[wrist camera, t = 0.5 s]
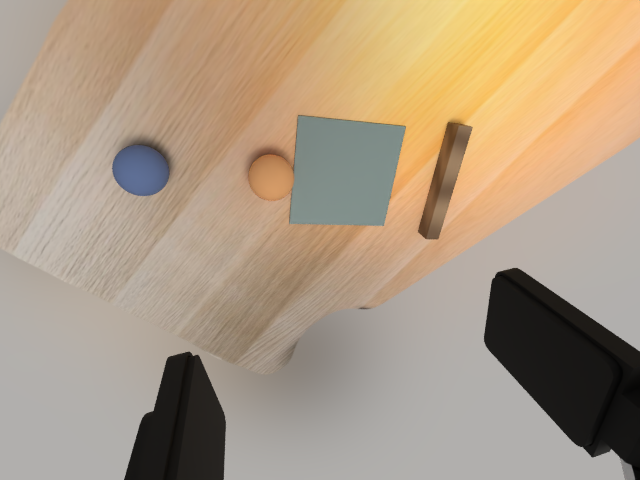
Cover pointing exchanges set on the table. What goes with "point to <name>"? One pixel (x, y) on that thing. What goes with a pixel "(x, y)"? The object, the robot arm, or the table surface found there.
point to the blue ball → (140, 170)
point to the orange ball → (271, 177)
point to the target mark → (343, 171)
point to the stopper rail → (444, 179)
